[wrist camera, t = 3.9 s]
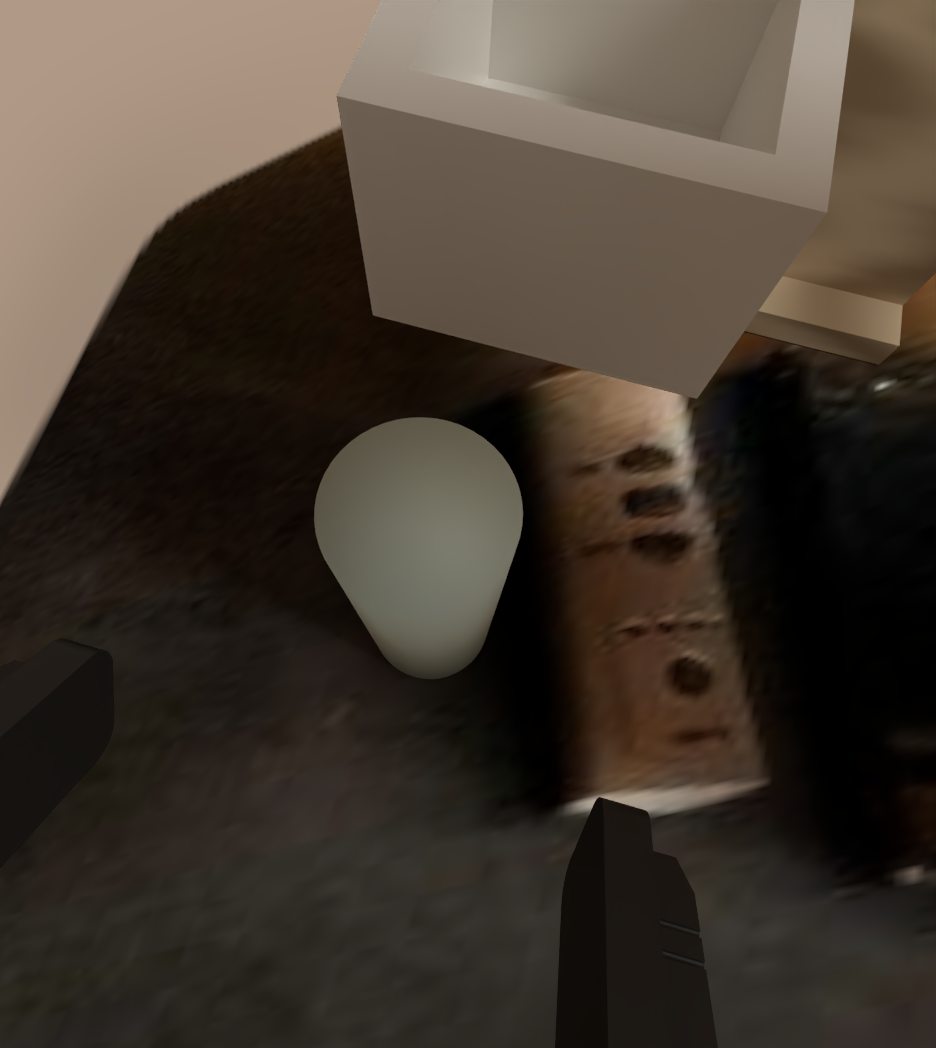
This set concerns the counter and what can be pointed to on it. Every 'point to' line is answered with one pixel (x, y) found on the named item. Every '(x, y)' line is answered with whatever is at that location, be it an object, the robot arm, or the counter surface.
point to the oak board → (870, 195)
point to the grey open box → (592, 171)
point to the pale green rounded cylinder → (421, 538)
